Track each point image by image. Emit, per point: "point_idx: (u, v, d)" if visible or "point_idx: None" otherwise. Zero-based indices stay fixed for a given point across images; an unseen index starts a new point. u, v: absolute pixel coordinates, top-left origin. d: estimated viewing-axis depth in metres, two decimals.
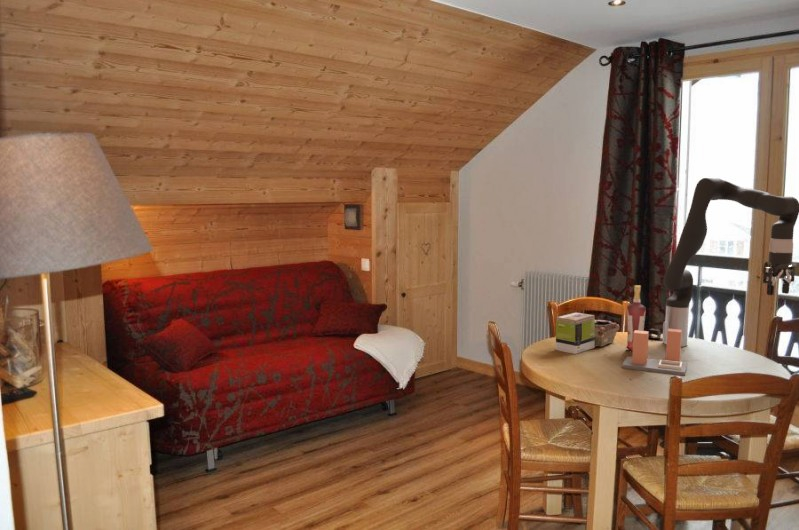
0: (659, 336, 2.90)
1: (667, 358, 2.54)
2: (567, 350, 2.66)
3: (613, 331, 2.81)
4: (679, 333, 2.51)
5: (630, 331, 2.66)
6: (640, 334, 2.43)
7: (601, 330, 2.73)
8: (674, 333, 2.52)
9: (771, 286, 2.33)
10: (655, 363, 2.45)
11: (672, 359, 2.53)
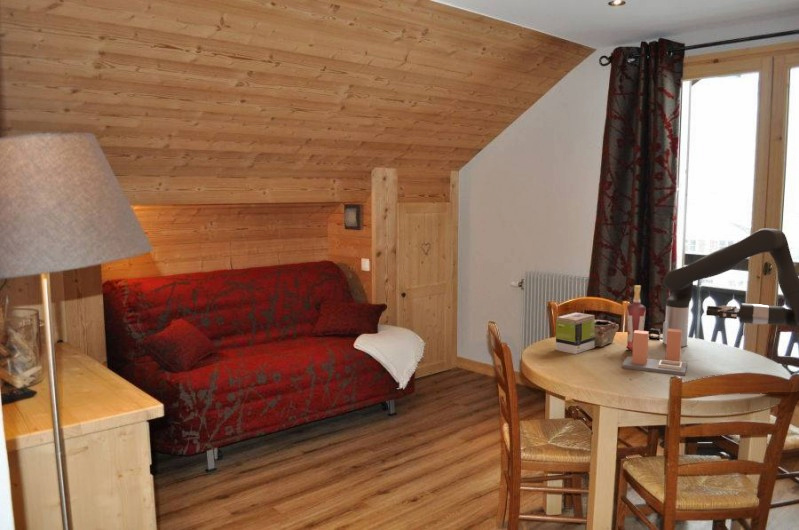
0: (659, 335, 2.91)
1: (667, 358, 2.54)
2: (567, 350, 2.66)
3: (613, 331, 2.81)
4: (679, 333, 2.51)
5: (630, 331, 2.66)
6: (640, 334, 2.43)
7: (601, 330, 2.73)
8: (674, 333, 2.52)
9: (715, 315, 2.42)
10: (655, 363, 2.45)
11: (672, 359, 2.53)
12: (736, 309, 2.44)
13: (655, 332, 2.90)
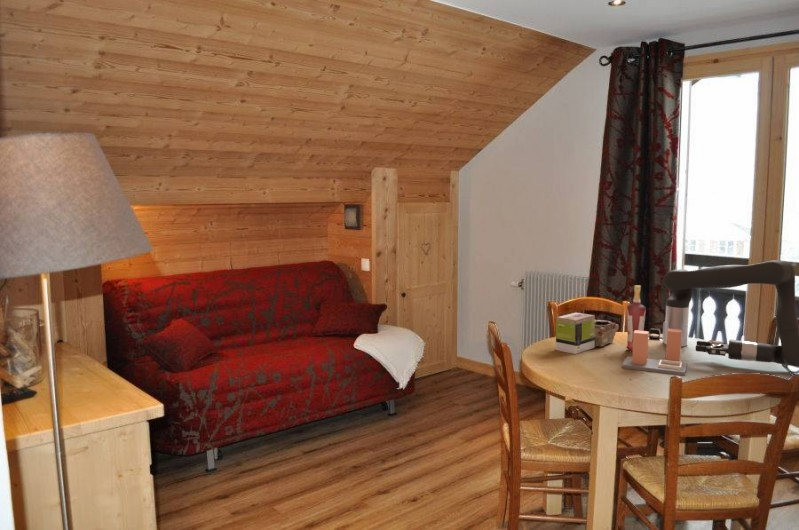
0: None
1: (667, 358, 2.54)
2: (567, 350, 2.66)
3: (612, 331, 2.81)
4: (679, 333, 2.51)
5: (630, 331, 2.66)
6: (640, 334, 2.43)
7: (601, 330, 2.73)
8: (674, 333, 2.52)
9: (705, 351, 2.45)
10: (655, 363, 2.45)
11: (672, 359, 2.53)
12: (725, 345, 2.47)
13: (655, 332, 2.90)
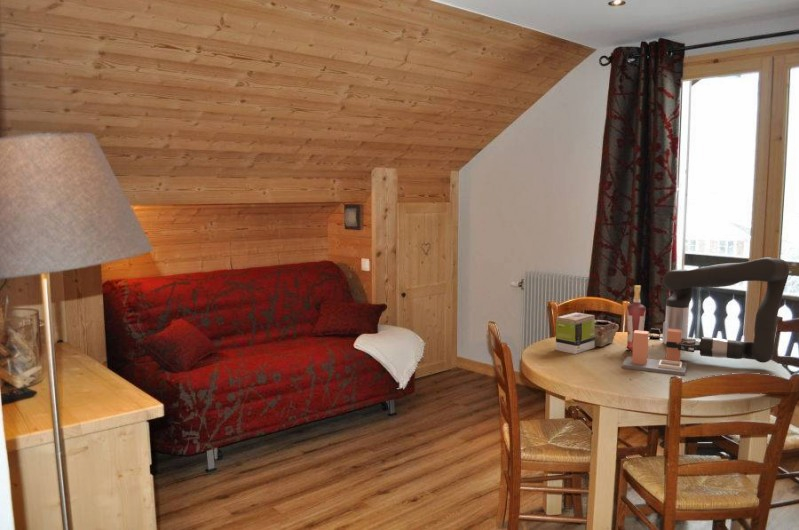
0: None
1: (667, 358, 2.54)
2: (567, 350, 2.66)
3: (613, 331, 2.81)
4: (679, 333, 2.51)
5: (630, 331, 2.66)
6: (640, 334, 2.43)
7: (601, 330, 2.73)
8: (674, 333, 2.52)
9: (675, 347, 2.51)
10: (655, 363, 2.45)
11: (672, 359, 2.53)
12: (697, 342, 2.51)
13: (656, 332, 2.91)
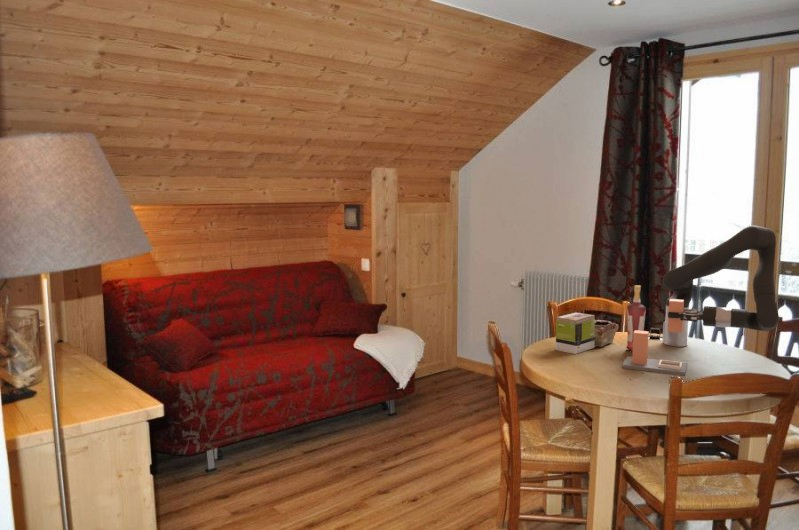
0: None
1: (669, 329, 2.46)
2: (567, 350, 2.66)
3: (612, 331, 2.81)
4: (681, 303, 2.43)
5: (630, 331, 2.66)
6: (640, 334, 2.43)
7: (601, 330, 2.73)
8: (676, 303, 2.44)
9: (677, 317, 2.43)
10: (655, 363, 2.45)
11: (674, 330, 2.45)
12: (699, 312, 2.43)
13: (656, 331, 2.91)
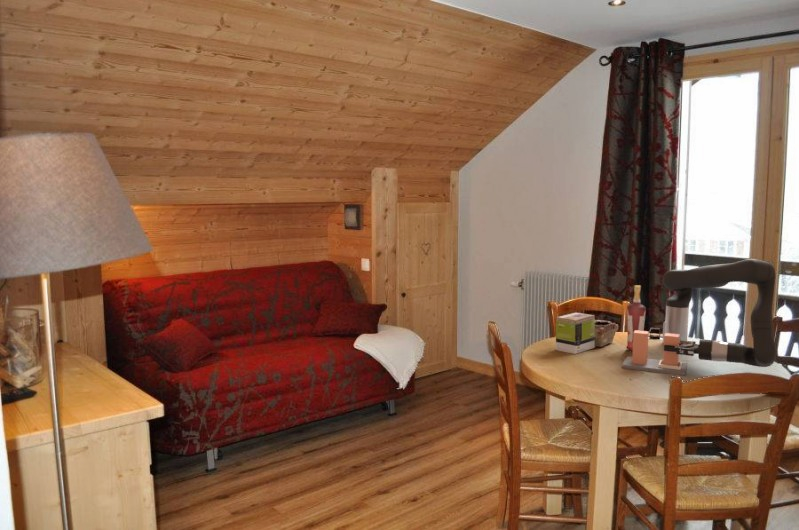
0: (659, 334, 2.93)
1: (664, 364, 2.41)
2: (567, 350, 2.66)
3: (612, 331, 2.81)
4: (677, 338, 2.38)
5: (630, 331, 2.66)
6: (640, 334, 2.43)
7: (601, 330, 2.73)
8: (671, 338, 2.38)
9: (673, 351, 2.37)
10: (655, 363, 2.45)
11: None
12: (695, 345, 2.38)
13: (656, 331, 2.92)
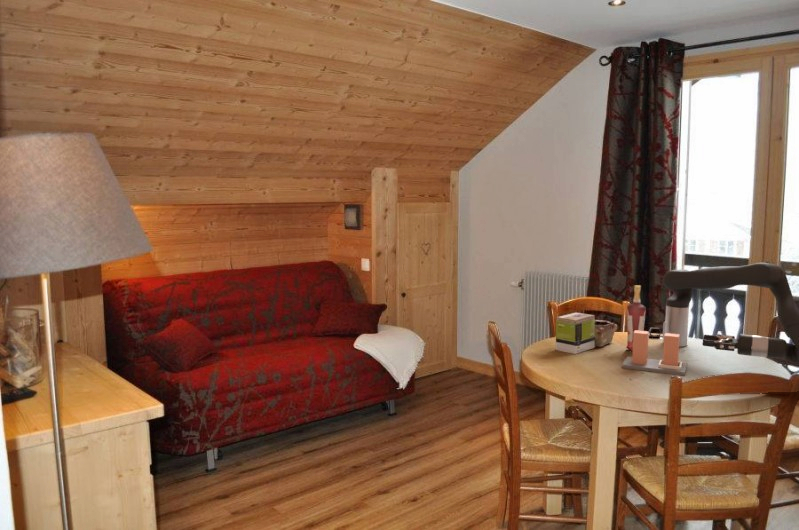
0: (659, 334, 2.94)
1: (664, 364, 2.41)
2: (567, 350, 2.66)
3: (611, 331, 2.81)
4: (677, 338, 2.38)
5: (630, 331, 2.66)
6: (640, 334, 2.43)
7: (600, 330, 2.73)
8: (671, 338, 2.38)
9: (712, 346, 2.30)
10: (655, 363, 2.45)
11: None
12: (734, 340, 2.32)
13: (656, 331, 2.92)
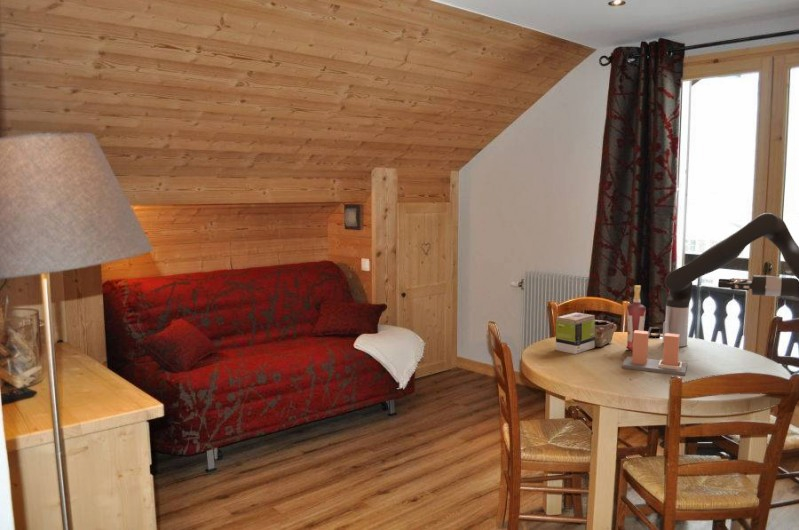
0: None
1: (664, 364, 2.41)
2: (567, 350, 2.66)
3: (611, 331, 2.81)
4: (677, 338, 2.38)
5: (630, 331, 2.66)
6: (640, 334, 2.43)
7: (600, 330, 2.73)
8: (671, 338, 2.38)
9: (727, 287, 2.40)
10: (655, 363, 2.45)
11: None
12: (748, 281, 2.42)
13: (656, 330, 2.93)
